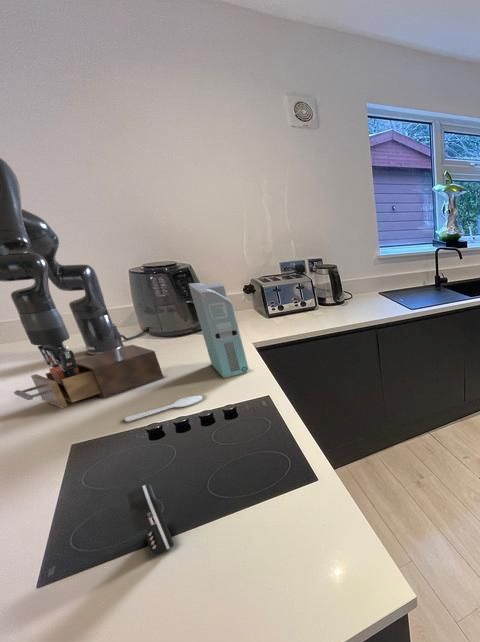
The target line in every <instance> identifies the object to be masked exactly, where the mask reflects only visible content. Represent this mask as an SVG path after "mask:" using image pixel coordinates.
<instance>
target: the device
mask: <svg viewBox="0 0 480 642" xmlns="http://www.w3.org/2000/svg"><path fill="white" fill-rule="evenodd" d="M188 287H189V290H190V295H191V298H192V302H193V304H194V309H195V311H196V315H197V319H198V323H199V326H200V329H201V332H202V336H203V339H204V343H205V346H206V349H207V350H206V351H207V353H208V356H209V360H210V365H212V367H213V368H214V369H215V370H216V371H217V372H218V373H219V375H220V376H221V377H222V378H223V379H226V378H230V377H233V376H237V375H242V374H245V373H248V372H249V371H250V369H249V364H248V360H247V356H246V352H245V349H244V345H243V340H242V336H241V333H240V328H239V325H238V320H237V316H236V311H235V308H234V305H233V302H232V301H231V300H230V299H229V298H228V295H227V292H226V288H225V285H223V284H222V283H221V282H218V283H217V282H216V283H208V284H204V283H200V282H191V283H188Z"/></svg>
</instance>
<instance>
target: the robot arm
mask: <svg viewBox="0 0 480 642" xmlns="http://www.w3.org/2000/svg"><path fill="white" fill-rule="evenodd" d="M59 245H60V239H59V237H58V235H57V233H56V232H55V231H54V230H53V229H52V228H51V227H50V225H49V224H48V223H47V222H46V220H45V219H43V218H42V217H40V216H38V215H37V214H34V213H33V212H30V211H27V210H25V209H24V208H23V207H22V196H21V186H20V183H19V180H18V177H17V175H16V173H15V171H14V170H13V168H12V167H11V166H10V165H9V163H8V162H7V161H6V160H4V159H3V158H1V157H0V282H4V283H7V282H8V283H9V282H10V283H11V282H19V281H29V280H30V281H32V280H33V281H34V283H33V284H32V285H30V286H27V287H24V288H19V289H16V290H14V291H12V292H11V293H10V298H11V300H12V302H13V304H14V307H15V309H16V311H17V313H18V317H19V320H20V322H21V325H22V327H23V329H24V332H25V333H26V336H27V338H28V340H29V343H30V344H31V345H33V346H37V349H38V350H39V352H40V353H41V355H42V356H43V359H44V361H45V362H46V364H47V365H48V366H50V367H51V368H54V367H58V366H59V367H60V368H61V371H63V374H64V376H65V378H68V377H72V376H75V375H76V373H75V371H74V369H75V368H77V365H76V361H75V360H76V357H75V355H74V351H73V350H69V348H68V346H66V345H65V344H64V342H65V341H68V340H69V339H70V334H69V331H68V329H67V327H66V325H65V322H64V320H63V318H62V315H61V314H60V312H59V310H58V308H57V306H56V304H55V302H54V299H53V296H52V294H51V291H50V286H49V280H50V282H51V283H52V284H53V286H55V287H56V288H57V289H58V290H60V291H64V292H77V291H78V292H79V291H84V296H82V297H80V298H77V299H74V300H71V301H70V302H69V303H68V305H69V309H70V312H71V313H72V316H73V318H74V320H75V323H76V326H77V328H78V330H79V333H80V335H81V337H82V340H83V343H84V345H85V346H84V349H86V350H87V353H88V355H90V356H92V355H96V354H99V353H103V352H107V351H111V350H115V349H118V348H122V347H125V346H124V342H123V340H125V341H130V340H133V339H136V338H139V337H142V336H143V335H145V334H147V333H148V332H144V331H143V332H140V333H138V334H136V335H134V336H130V337H126V336H125V335H124V334H121V333H120V332H119V330H118V327H117V324H115V323H113V321H112V319H111V315H110V313H109V311H108V308H107V306H106V303H105V298H104V294H103V291H102V288H101V285H100V281H99V278H98V275H97V273H96V271H95V269H94V267H92V266H91V265H89V264H61V263H59V262H58V261H57V260H56V256H57V252H58V248H59V247H60V246H59ZM122 339H123V340H122ZM67 364H69V366H67Z"/></svg>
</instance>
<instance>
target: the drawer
mask: <svg viewBox="0 0 480 642" xmlns="http://www.w3.org/2000/svg"><path fill="white" fill-rule="evenodd" d="M77 368H78V370H79V372H80V374H79V375H75V376H72V377H68V378H65V379H61V381H62V383H63V385H61V384H58V383H57V382H55V381H54V379H53V377H52V374H51V372H50V371H49V372H45V373H44V374H45V376H43V375H40V374H36V373H35V374H31V375H30V377H31V379H32V382H33V384H34V386H32V387H29V388H27V389H22V390H20V389H18V390H15V391H14V392H13V394H14V395H15V396H17V397H20V398H21V399H24V400H26V401H32V400H33V399H34V398H36V397H39V396H40V398H41V400H42V401H45V402H47V403H49V404H51V405H54V406H56V407H58V408H61V409H64V408H66V407H67V408H68V404H67V402H66V401H68V402H70V403H75V402H77V401H82V400H85V399H87V398H90V397H94V396H95V395H96V394H99V393H101V391H100V388H99V386H98V383H97V381H96V379H95V376H94V374H93V371H91V370H89V369H86V368H83V367H80V366H77ZM35 390H37V392H38V393H34V394H30V393H27V392H31V391H35ZM96 396H97V395H96Z"/></svg>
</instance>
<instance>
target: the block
mask: <svg viewBox="0 0 480 642" xmlns="http://www.w3.org/2000/svg"><path fill="white" fill-rule="evenodd" d="M67 366H69V364H67ZM74 371H75V373H76V375H79V374H80V372H79V370H78V368H75V369H74ZM49 372H51V374H52V377H53V379H54V381H55V382H57V383H58V384H61V385H63V383H62V381H61V379H65V376H64V374H63V371H61V368H60V367H59V366H58V367H54V368H52V367H51V368H49Z"/></svg>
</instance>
